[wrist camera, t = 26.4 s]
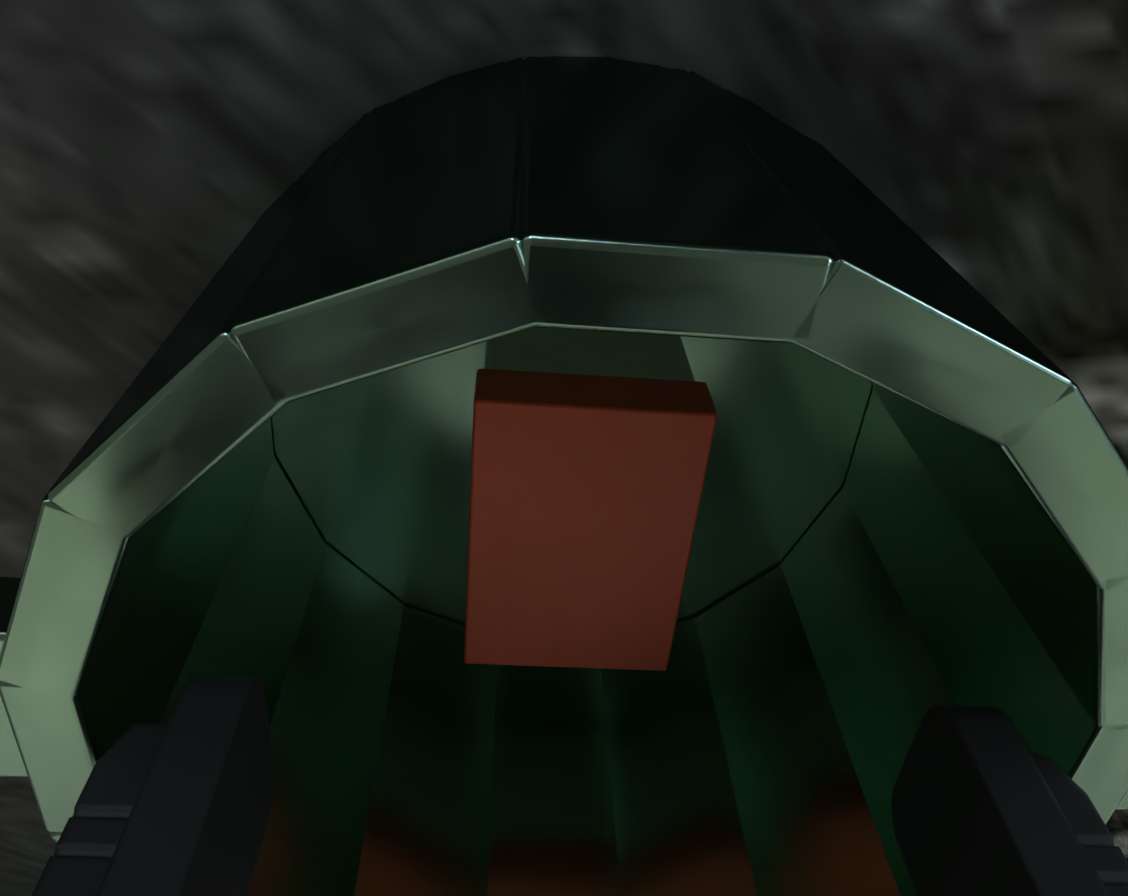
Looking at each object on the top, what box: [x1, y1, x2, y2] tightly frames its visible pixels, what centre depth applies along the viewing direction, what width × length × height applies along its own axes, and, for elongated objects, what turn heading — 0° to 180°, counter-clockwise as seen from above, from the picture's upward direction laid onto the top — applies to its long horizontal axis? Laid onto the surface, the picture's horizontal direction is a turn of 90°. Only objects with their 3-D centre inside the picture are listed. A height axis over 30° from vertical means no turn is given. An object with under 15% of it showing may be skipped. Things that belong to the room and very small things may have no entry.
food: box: [464, 327, 718, 671], centre depth 16 cm, size 5×3×4 cm
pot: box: [0, 56, 1128, 896], centre depth 14 cm, size 13×18×8 cm
